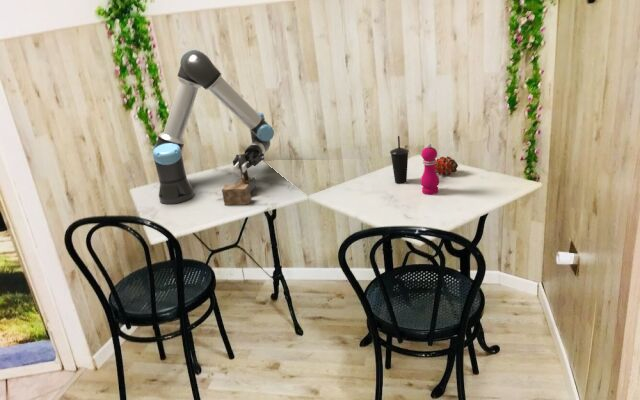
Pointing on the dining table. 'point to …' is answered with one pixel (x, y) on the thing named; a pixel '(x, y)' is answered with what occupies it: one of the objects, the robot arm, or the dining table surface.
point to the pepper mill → (429, 171)
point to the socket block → (236, 194)
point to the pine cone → (445, 166)
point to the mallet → (244, 175)
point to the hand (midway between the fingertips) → (238, 169)
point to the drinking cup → (399, 163)
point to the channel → (250, 185)
